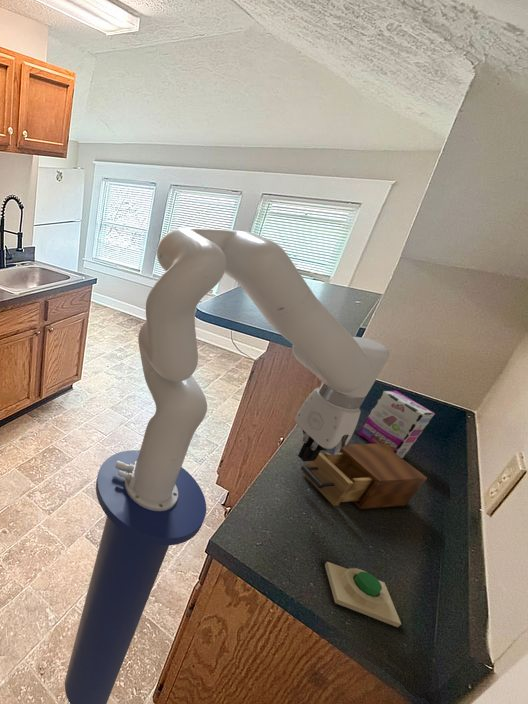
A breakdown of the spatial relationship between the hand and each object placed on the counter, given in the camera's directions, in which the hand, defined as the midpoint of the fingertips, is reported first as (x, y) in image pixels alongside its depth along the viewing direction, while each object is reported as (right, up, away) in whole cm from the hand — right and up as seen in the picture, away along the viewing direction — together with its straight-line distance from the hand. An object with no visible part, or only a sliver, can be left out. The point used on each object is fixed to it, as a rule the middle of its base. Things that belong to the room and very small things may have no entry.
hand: (305, 458), depth 88 cm
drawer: (+11, -10, +7) cm, 17 cm away
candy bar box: (+40, -4, +26) cm, 47 cm away
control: (0, -22, -15) cm, 26 cm away
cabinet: (+21, -11, +10) cm, 25 cm away
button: (0, -19, -17) cm, 25 cm away
